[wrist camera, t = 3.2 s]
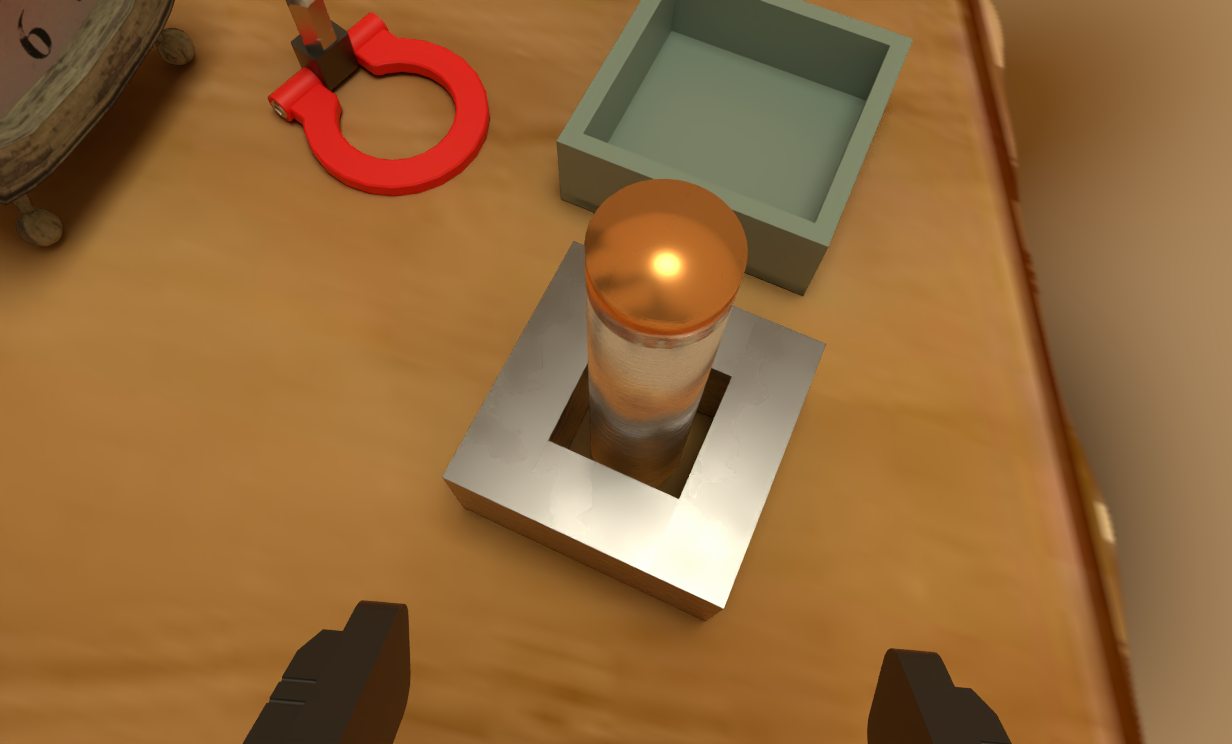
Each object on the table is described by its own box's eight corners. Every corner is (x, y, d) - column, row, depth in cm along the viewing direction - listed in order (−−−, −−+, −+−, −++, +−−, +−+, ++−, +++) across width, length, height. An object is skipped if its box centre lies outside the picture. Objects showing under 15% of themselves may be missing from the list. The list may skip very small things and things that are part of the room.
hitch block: (705, 621, 29) (723, 608, 25) (463, 507, 30) (441, 477, 26) (796, 389, 32) (826, 343, 28) (576, 297, 34) (573, 240, 30)
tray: (803, 295, 34) (828, 246, 30) (560, 198, 36) (556, 141, 32) (882, 102, 38) (913, 38, 34) (662, 23, 40) (668, -46, 36)
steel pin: (659, 505, 30) (711, 346, 16) (575, 468, 31) (556, 281, 17) (695, 425, 32) (771, 213, 18) (613, 390, 32) (625, 157, 18)
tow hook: (526, 116, 38) (384, 18, 40) (506, -140, 26) (303, -267, 27) (405, 234, 35) (258, 124, 37) (320, 10, 23) (107, -140, 25)
